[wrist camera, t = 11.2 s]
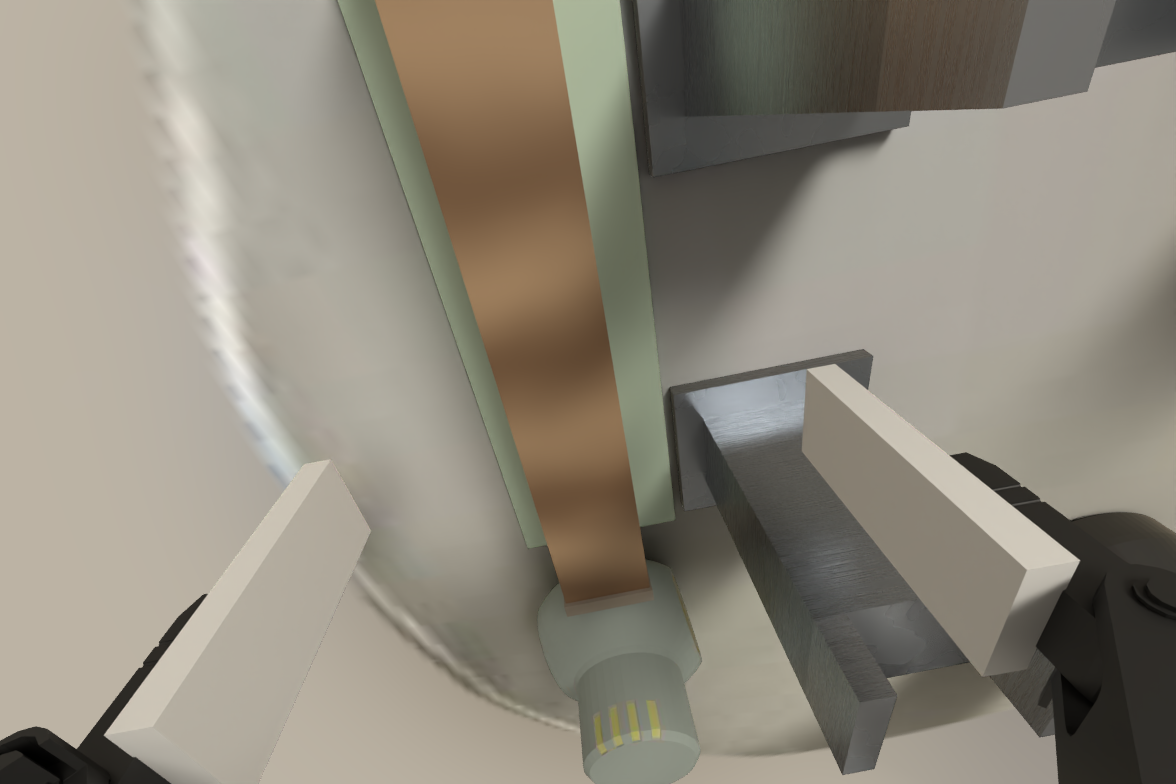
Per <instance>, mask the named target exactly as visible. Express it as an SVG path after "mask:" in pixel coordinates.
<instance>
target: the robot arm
mask: <svg viewBox="0 0 1176 784" xmlns="http://www.w3.org/2000/svg"><path fill="white" fill-rule="evenodd" d="M802 452H803V453H804V455H805V456H806V457H807V458H808V460H809V461H810V462H811V463H812V465H813V466H814V467H815V468H816V470H817V471H818V472H819V473H820V475H821V476H822V477H823V478H824V480H825V481H826V482H827V483H828V485H829V486H830V487H831V488H832V490H833V491H834V492H835V493H836V495H837V496H838V497H839V498H840V500H841V501H842V502H843V503H844V505H845V506H846V507H847V508H848V510H849V511H850V512H851V513H852V515H853V516H854V517H855V518H856V520H857V521H858V522H859V523H860V525H861V526H862V527H863V528H864V530H865V531H866V532H867V533H868V535H869V536H870V537H871V538H872V540H873V541H874V542H875V543H876V545H877V546H878V547H879V548H880V550H881V551H882V552H883V553H884V555H885V556H886V557H887V558H888V560H889V561H890V562H891V563H892V565H893V566H894V567H895V568H896V570H897V571H898V572H899V573H900V575H901V576H902V577H903V578H904V580H905V581H906V582H907V583H908V585H909V586H910V587H911V588H912V590H913V591H914V592H915V593H916V595H917V596H918V597H919V599H920V600H921V601H922V602H923V604H924V605H925V606H926V607H927V609H928V610H929V611H930V612H931V614H932V615H933V616H934V617H935V619H936V620H937V621H938V622H939V624H940V625H941V626H942V627H943V629H944V630H945V631H946V632H947V634H948V635H949V636H950V637H951V639H952V640H953V641H954V642H955V644H956V645H957V646H958V647H959V649H960V650H961V651H962V652H963V654H964V655H965V656H966V657H967V659H968V660H969V661H970V662H971V664H972V665H973V666H974V667H975V669H976V670H977V671H978V672H979V674H980V675H981V676H982V677H986V676H992V675H997V674H1003V673H1009V672H1015V671H1020V670H1026V669H1027V667H1028V665H1029V663H1030V661H1031V659H1032V657H1033V655H1034V653H1035V651H1036V649H1037V648H1038V650H1039V651H1040V652H1041V653H1042V654H1043V655H1044V656H1045V657H1046V658H1047V659H1048V660H1049V661H1050V662H1051V663H1052V664H1053V665H1054V666H1055V668H1054V670H1053V672H1052V674H1051V676H1050V678H1049V679H1048V681H1047V683H1046V685H1045V687H1044V689H1043V690H1042V692H1041V694H1040V698H1039V701H1038V705H1039V706H1041V707H1043V708H1047V707H1048V705H1049V703H1050V701H1051V700H1053V714H1054V727H1055V739H1056V754H1057V766H1058V779H1059V780H1058V781H1059V784H1176V533H1175V532H1173V531H1172V530H1170V529H1168V528H1167V527H1165V526H1164V525H1162V524H1161V523H1159V522H1158V521H1156V520H1155V519H1153V518H1151V517H1148V516H1146V515H1142V514H1137V513H1108V514H1101V515H1095V516H1090V517H1086V518H1082V519H1079V520H1075V521H1072V522H1071V521H1070V520H1069V519H1067V518H1066V517H1065V516H1063V515H1062V514H1061V513H1059V512H1058V511H1057V510H1055V509H1054V508H1053V507H1051V506H1050V505H1048V504H1047V503H1046V502H1041V501H1040V498H1039V497H1038V496H1036V495H1035V494H1034V493H1032V492H1031V491H1030V490H1028V489H1027V488H1026V487H1021V486H1020V483H1019V482H1017V481H1016V480H1015V479H1013V478H1012V477H1011V476H1009V475H1008V474H1007V473H1005V472H1004V471H1003V470H1001V469H1000V468H999V467H997V466H996V465H993V464H991V463H989V462H987V461H984V460H982V459H980V458H978V457H975V456H973V455H971V454H968V453H961V454H955V455H950V456H949V455H948V454H947V453H946V452H944V451H943V450H942V449H941V448H939V447H938V446H937V445H936V444H934V443H933V442H932V441H931V440H929V439H928V438H927V437H926V436H924V435H923V434H922V433H921V432H919V431H918V430H917V429H916V428H914V427H913V426H912V425H911V424H909V423H908V422H907V421H906V420H904V419H903V418H902V417H901V416H899V415H898V414H897V413H896V412H894V411H893V410H892V409H891V408H889V407H888V406H887V405H886V404H884V403H883V402H882V401H881V400H879V399H878V398H877V397H876V396H874V395H873V394H872V393H871V392H869V391H868V390H867V389H866V388H864V387H863V386H862V385H861V384H860V383H858V382H857V381H856V380H855V379H853V378H852V377H851V376H850V375H848V374H847V373H846V372H845V371H843V370H842V369H841V368H840V367H838V366H837V365H836V364H832V365H826V366H821V367H816V368H810V369H807V372H806V389H805V405H804V421H803V438H802ZM370 532H371V530H370V528H369V526H368V524H367V523H366V521H365V519H364V517H363V515H362V514H361V512H360V510H359V508H358V506H357V505H356V503H355V501H354V499H353V497H352V496H351V494H350V492H349V490H348V488H347V487H346V485H345V483H344V481H343V479H342V478H341V476H340V474H339V472H338V470H337V469H336V467H335V465H334V463H333V461H332V460H331V459H329V460H324V461H318V462H313V463H308V464H304V465H303V466H302V468H301V469H300V470H299V472H298V473H297V474H296V476H295V477H294V478H293V480H292V481H291V483H290V484H289V485H288V487H287V488H286V489H285V491H284V492H283V493H282V495H281V496H280V497H279V499H278V500H277V502H276V503H275V504H274V506H273V507H272V508H271V510H270V511H269V512H268V514H267V515H266V516H265V518H264V519H263V520H262V522H261V523H260V524H259V526H258V527H257V529H256V530H255V531H254V533H253V534H252V535H251V537H250V538H249V539H248V541H247V542H246V544H245V545H244V546H243V548H242V549H241V550H240V552H239V553H238V554H237V556H236V557H235V558H234V560H233V561H232V562H231V564H230V565H229V567H228V568H227V569H226V571H225V572H224V573H223V575H222V576H221V577H220V579H219V580H218V581H217V583H216V584H215V585H214V587H213V588H212V589H211V591H210V592H209V594H204V595H202V596H201V597H200V598H199V599H198V600H196V602H194V603H193V604H192V605H191V606H190V607H189V608H188V609H187V610H185V611H184V612H183V613H182V614H181V615H180V616H179V617H178V618H177V619H176V620H175V622H174V623H173V624H172V626H171V627H170V628H169V629H168V631H167V632H166V633H165V635H164V636H163V637H162V639H161V640H160V641H159V646H158V647H155V648H154V649H153V650H152V652H151V653H150V654H149V656H148V657H147V658H146V660H145V661H144V662H143V664H144V665H143V667H142V668H139V669H138V670H137V671H136V673H135V674H134V675H133V676H132V678H131V679H130V680H129V682H128V683H127V684H126V686H125V687H124V688H123V690H122V691H121V692H120V693H119V695H118V696H117V698H116V699H115V700H114V701H113V703H112V704H111V705H110V707H109V708H108V709H107V710H106V712H105V713H104V714H103V716H102V717H101V718H100V720H99V721H98V722H97V724H96V725H95V726H94V727H93V729H92V730H91V732H90V733H89V734H88V735H87V737H86V738H85V739H84V741H83V742H82V743H81V744H80V746H79V747H78V748H77V749H75V748H74V747H72V746H71V745H69V744H68V743H67V742H65V741H64V740H62V739H61V738H59V737H58V736H56V735H55V734H53V733H52V732H51V731H49V730H48V729H45V728H41V727H32V728H28V729H25V730H21V731H18V732H16V733H14V734H12V735H10V736H8V737H6V738H5V739H3V740H1V741H0V784H259V781H260V779H261V777H262V775H263V772H264V770H265V768H266V766H267V763H268V761H269V759H270V756H271V755H272V752H273V750H274V748H275V746H276V743H277V741H278V739H279V737H280V734H281V732H282V730H283V728H284V725H285V723H286V721H287V719H288V716H289V714H290V712H291V710H292V707H293V705H294V703H295V701H296V698H297V696H298V694H299V692H300V689H301V687H302V685H303V683H304V680H305V678H306V676H307V674H308V671H309V669H310V667H311V665H312V662H313V660H314V658H315V656H316V653H317V651H318V649H319V647H320V645H321V642H322V640H323V638H324V635H325V633H326V631H327V629H328V627H329V624H330V622H331V620H332V618H333V615H334V613H335V611H336V609H337V606H338V604H339V602H340V600H341V597H342V595H343V593H344V591H345V588H346V586H347V584H348V582H349V580H350V577H351V575H352V573H353V571H354V568H355V566H356V564H357V562H358V559H359V557H360V555H361V553H362V550H363V548H364V546H365V544H366V541H367V539H368V537H369V535H370Z"/></svg>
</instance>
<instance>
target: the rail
mask: <svg viewBox="0 0 1176 784" xmlns="http://www.w3.org/2000/svg"><path fill="white" fill-rule="evenodd" d="M375 3H376V6H377V9H378V12H379V15H380V18H381V22H382V25H383V28H384V31H385V34H386V37H387V40H388V44H389V47H390V50H391V53H392V56H393V59H394V63H395V66H396V69H397V72H398V75H399V78H400V81H401V85H402V88H403V91H404V94H405V97H406V100H407V104H408V107H409V110H410V113H411V116H412V119H413V122H414V126H415V129H416V132H417V135H418V138H419V141H420V145H421V148H422V151H423V154H424V157H425V160H426V164H427V167H428V170H429V173H430V176H431V179H432V182H433V186H434V189H435V192H436V195H437V198H438V201H439V205H440V208H441V211H442V214H443V217H444V220H445V223H446V227H447V230H448V233H449V236H450V239H451V242H452V246H453V249H454V252H455V255H456V258H457V261H458V265H459V268H460V271H461V274H462V277H463V280H464V283H465V287H466V290H467V293H468V296H469V299H470V302H471V306H472V309H473V312H474V315H475V318H476V321H477V324H478V328H479V331H480V334H481V337H482V340H483V343H484V347H485V350H486V353H487V356H488V359H489V362H490V365H491V369H492V372H493V375H494V378H495V381H496V384H497V388H498V391H499V394H500V397H501V400H502V403H503V407H504V410H505V413H506V416H507V419H508V422H509V425H510V429H511V432H512V435H513V438H514V441H515V444H516V448H517V451H518V454H519V457H520V460H521V463H522V466H523V470H524V473H525V476H526V479H527V482H528V485H529V489H530V492H531V495H532V498H533V501H534V504H535V508H536V511H537V514H538V517H539V520H540V523H541V526H542V530H543V533H544V536H545V539H546V542H547V545H548V549H549V552H550V555H551V558H552V561H553V564H554V567H555V571H556V574H557V577H558V580H559V583H560V586H561V590H562V593H563V596H564V608H565V611H566V614H567V617H570V616H575V615H580V614H585V613H590V612H595V611H601V610H606V609H611V608H616V607H621V606H626V605H631V604H637V603H642V602H647V601H652V600H654V596H653V590H652V586H651V582H650V578H649V573H648V569H647V565H646V561H645V555H644V549H643V543H642V537H641V531H640V525H639V519H638V513H637V506H636V500H635V494H634V488H633V482H632V476H631V470H630V464H629V458H628V452H627V446H626V440H625V434H624V428H623V422H622V416H621V410H620V404H619V398H618V392H617V386H616V380H615V374H614V368H613V362H612V356H611V350H610V343H609V337H608V331H607V325H606V319H605V313H604V307H603V301H602V295H601V289H600V283H599V277H598V271H597V265H596V259H595V253H594V247H593V241H592V235H591V229H590V223H589V217H588V211H587V205H586V199H585V193H584V187H583V180H582V174H581V168H580V162H579V156H578V150H577V144H576V138H575V132H574V126H573V120H572V114H571V108H570V102H569V96H568V90H567V84H566V78H565V72H564V66H563V60H562V54H561V48H560V42H559V36H558V30H557V24H556V17H555V11H554V5H553V0H375Z"/></svg>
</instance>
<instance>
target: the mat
mask: <svg viewBox="0 0 1176 784" xmlns="http://www.w3.org/2000/svg"><path fill="white" fill-rule="evenodd" d="M338 3H339V6H340V9H341V12H342V14H343V17H344V20H345V23H346V26H347V29H348V32H349V35H350V37H351V40H352V43H353V46H354V49H355V52H356V55H357V58H358V61H359V63H360V66H361V69H362V72H363V75H364V78H365V81H366V84H367V86H368V89H369V92H370V95H371V98H372V101H373V104H374V107H375V109H376V112H377V115H378V118H379V121H380V124H381V127H382V130H383V133H384V135H385V138H386V141H387V144H388V147H389V150H390V153H391V156H392V158H393V161H394V164H395V167H396V170H397V173H398V176H399V179H400V182H401V184H402V187H403V190H404V193H405V196H406V199H407V202H408V205H409V207H410V210H411V213H412V216H413V219H414V222H415V225H416V228H417V230H418V233H419V236H420V239H421V242H422V245H423V248H424V251H425V254H426V256H427V259H428V262H429V265H430V268H431V271H432V274H433V277H434V279H435V282H436V285H437V288H438V291H439V294H440V297H441V300H442V302H443V305H444V308H445V311H446V314H447V317H448V320H449V323H450V326H451V328H452V331H453V334H454V337H455V340H456V343H457V346H458V349H459V351H460V354H461V357H462V360H463V363H464V366H465V369H466V372H467V375H468V377H469V380H470V383H471V386H472V389H473V392H474V395H475V398H476V400H477V403H478V406H479V409H480V412H481V415H482V418H483V421H484V423H485V426H486V429H487V432H488V435H489V438H490V441H491V444H492V447H493V449H494V452H495V455H496V458H497V461H498V464H499V467H500V470H501V472H502V475H503V478H504V481H505V484H506V487H507V490H508V493H509V495H510V498H511V501H512V504H513V507H514V510H515V513H516V516H517V519H518V521H519V524H520V527H521V530H522V533H523V536H524V539H525V542H526V544H527V547H528V549H530V548H535V547H541V546H546V545H547V542H546V539H545V536H544V533H543V530H542V526H541V523H540V520H539V517H538V514H537V511H536V508H535V504H534V501H533V498H532V495H531V492H530V489H529V485H528V482H527V479H526V476H525V473H524V470H523V466H522V463H521V460H520V457H519V454H518V451H517V448H516V444H515V441H514V438H513V435H512V432H511V429H510V425H509V422H508V419H507V416H506V413H505V410H504V407H503V403H502V400H501V397H500V394H499V391H498V388H497V384H496V381H495V378H494V375H493V372H492V369H491V365H490V362H489V359H488V356H487V353H486V350H485V347H484V343H483V340H482V337H481V334H480V331H479V328H478V324H477V321H476V318H475V315H474V312H473V309H472V306H471V302H470V299H469V296H468V293H467V290H466V287H465V283H464V280H463V277H462V274H461V271H460V268H459V265H458V261H457V258H456V255H455V252H454V249H453V246H452V242H451V239H450V236H449V233H448V230H447V227H446V223H445V220H444V217H443V214H442V211H441V208H440V205H439V201H438V198H437V195H436V192H435V189H434V186H433V182H432V179H431V176H430V173H429V170H428V167H427V164H426V160H425V157H424V154H423V151H422V148H421V145H420V141H419V138H418V135H417V132H416V129H415V126H414V122H413V119H412V116H411V113H410V110H409V107H408V104H407V100H406V97H405V94H404V91H403V88H402V85H401V81H400V78H399V75H398V72H397V69H396V66H395V63H394V59H393V56H392V53H391V50H390V47H389V44H388V40H387V37H386V34H385V31H384V28H383V25H382V22H381V18H380V15H379V12H378V9H377V6H376V3H375V0H338ZM553 5H554V11H555V17H556V24H557V30H558V36H559V42H560V48H561V54H562V60H563V66H564V72H565V78H566V84H567V90H568V96H569V102H570V108H571V114H572V120H573V126H574V132H575V138H576V144H577V150H578V156H579V162H580V168H581V174H582V180H583V187H584V193H585V199H586V205H587V211H588V217H589V223H590V229H591V235H592V241H593V247H594V253H595V259H596V265H597V271H598V277H599V283H600V289H601V295H602V301H603V307H604V313H605V319H606V325H607V331H608V337H609V343H610V350H611V356H612V362H613V368H614V374H615V380H616V386H617V392H618V398H619V404H620V410H621V416H622V422H623V428H624V434H625V440H626V446H627V452H628V458H629V464H630V470H631V476H632V482H633V488H634V494H635V500H636V506H637V513H638V519H639V525H640V527H643V526H648V525H653V524H659V523H664V522H669V521H674V520H675V511H674V501H673V492H672V483H671V473H670V464H669V455H668V445H667V436H666V427H665V418H664V408H663V399H662V390H661V380H660V371H659V362H658V352H657V343H656V334H655V324H654V315H653V306H652V296H651V287H650V278H649V268H648V259H647V250H646V241H645V231H644V222H643V213H642V203H641V194H640V185H639V175H638V166H637V157H636V147H635V138H634V129H633V119H632V110H631V101H630V91H629V82H628V73H627V63H626V54H625V45H624V36H623V26H622V17H621V8H620V0H553Z"/></svg>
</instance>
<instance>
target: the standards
mask: <svg viewBox="0 0 1176 784" xmlns="http://www.w3.org/2000/svg"><path fill="white" fill-rule="evenodd" d="M632 2H633V12H634V22H635V33H636V43H637V53H638V64H639V74H640V84H641V95H642V105H643V116H644V126H645V136H646V147H647V157H648V167H649V175H650V176H652V177H657V176H662V175H667V174H672V173H677V172H682V171H687V170H692V169H697V168H702V167H707V166H712V165H717V164H722V163H727V162H732V161H737V160H742V159H747V158H752V157H757V156H762V155H767V154H772V153H777V152H782V151H787V150H792V149H797V148H802V147H807V146H812V145H817V144H822V143H827V142H832V141H837V140H842V139H847V138H852V137H857V136H862V135H867V134H872V133H877V132H882V131H887V130H892V129H897V128H902V127H907V126H909V122H910V115H911V111H923V110H960V109H997V108H1007V107H1012V106H1017V105H1022V104H1027V103H1032V102H1037V101H1042V100H1047V99H1052V98H1057V97H1062V96H1067V95H1072V94H1077V93H1082V92H1087V91H1088V88H1089V85H1090V81H1091V78H1092V75H1093V72H1094V69H1095V68H1096V67H1101V66H1106V65H1111V64H1116V63H1121V62H1126V61H1131V60H1136V59H1141V58H1146V57H1151V56H1156V55H1161V54H1166V53H1171V52H1176V0H632ZM872 361H873V356H872V355H871V354H870V353H868V352H867V351H865V350H864V349H862V350H857V351H852V352H847V353H842V354H837V355H832V356H826V357H821V358H816V359H811V360H806V361H801V362H796V363H791V364H786V365H781V366H776V367H771V368H766V369H760V370H755V371H750V372H745V373H740V374H735V375H730V376H725V377H720V378H715V379H710V380H705V381H700V382H694V383H689V384H684V385H679V386H674V387H670V395H671V405H672V416H673V426H674V436H675V447H676V457H677V468H678V478H679V488H680V499H681V504H682V506H683V509H684V511H689V510H694V509H699V508H704V507H710V506H715V505H717V506H718V509H719V511H720V513H721V515H722V517H723V519H724V522H725V524H726V526H727V528H728V530H729V532H730V534H731V537H732V539H733V541H734V543H735V545H736V547H737V549H738V552H739V554H740V556H741V558H742V560H743V562H744V564H745V567H746V569H747V571H748V573H749V575H750V577H751V580H752V582H753V584H754V586H755V588H756V590H757V592H758V595H759V597H760V599H761V601H762V603H763V605H764V607H765V610H766V612H767V614H768V616H769V618H770V620H771V622H772V625H773V627H774V629H775V631H776V633H777V635H778V637H779V640H780V642H781V644H782V646H783V648H784V650H785V653H786V655H787V657H788V659H789V661H790V663H791V665H792V668H793V670H794V672H795V674H796V676H797V678H798V680H799V683H800V685H801V687H802V689H803V691H804V693H805V695H806V698H807V700H808V702H809V704H810V706H811V708H812V710H813V713H814V715H815V717H816V719H817V721H818V723H819V726H820V728H821V730H822V732H823V734H824V736H825V738H826V741H827V743H828V745H829V747H830V749H831V751H832V753H833V756H834V758H835V760H836V761H837V764H838V766H839V768H840V771H841V773H842V775H845V774H850V773H855V772H860V771H866V770H871V769H874V768H875V765H876V762H877V759H878V755H879V752H880V749H881V746H882V743H883V740H884V736H885V733H886V730H887V727H888V724H889V720H890V717H891V714H892V711H893V708H894V705H895V701H896V698H897V694H896V693H895V691H894V689H893V688H892V686H891V685H890V683H889V681H888V680H887V678H890V677H895V676H900V675H905V674H910V673H916V672H921V671H926V670H931V669H936V668H942V667H947V666H952V665H957V664H963V663H968V662H970V661H969V660H968V659H967V657H966V656H965V655H964V654H963V652H962V651H961V650H960V649H959V647H958V646H957V645H956V644H955V642H954V641H953V640H952V639H951V637H950V636H949V635H948V634H947V632H946V631H945V630H944V629H943V627H942V626H941V625H940V624H939V622H938V621H937V620H936V619H935V617H934V616H933V615H932V614H931V612H930V611H929V610H928V609H927V607H926V606H925V605H924V604H923V602H922V601H921V600H920V599H919V597H918V596H917V595H916V593H915V592H914V591H913V590H912V588H911V587H910V586H909V585H908V583H907V582H906V581H905V580H904V578H903V577H902V576H901V575H900V573H899V572H898V571H897V570H896V568H895V567H894V566H893V565H892V563H891V562H890V561H889V560H888V558H887V557H886V556H885V555H884V553H883V552H882V551H881V550H880V548H879V547H878V546H877V545H876V543H875V542H874V541H873V540H872V538H871V537H870V536H869V535H868V533H867V532H866V531H865V530H864V528H863V527H862V526H861V525H860V523H859V522H858V521H857V520H856V518H855V517H854V516H853V515H852V513H851V512H850V511H849V510H848V508H847V507H846V506H845V505H844V503H843V502H842V501H841V500H840V498H839V497H838V496H837V495H836V493H835V492H834V491H833V490H832V488H831V487H830V486H829V485H828V483H827V482H826V481H825V480H824V478H823V477H822V476H821V475H820V473H819V472H818V471H817V470H816V468H815V467H814V466H813V465H812V463H811V462H810V461H809V460H808V458H807V457H806V456H805V455H804V453H803V452H802V438H803V421H804V405H805V389H806V372H807V369H810V368H816V367H821V366H826V365H832V364H836V365H837V366H838V367H840V368H841V369H842V370H843V371H845V372H846V373H847V374H848V375H850V376H851V377H852V378H853V379H855V380H856V381H857V382H858V383H860V384H861V385H862V386H863V387H864V388H866V389H867V390H868V386H869V380H870V373H871V367H872ZM1054 668H1055V666H1054V665H1053V664H1052V663H1051V662H1050V661H1049V660H1048V659H1047V658H1046V657H1045V656H1044V655H1043V654H1042V653H1041V652H1040V651H1039V650H1038V648H1037V649H1036V651H1035V653H1034V655H1033V657H1032V659H1031V661H1030V663H1029V665H1028V667H1027V669H1026V670H1020V671H1015V672H1009V673H1003V674H997V675H992V676H990V677H991V678H992V680H993V681H994V682H995V683H996V684H997V686H998V687H999V688H1000V689H1001V691H1002V692H1003V693H1004V694H1005V696H1006V697H1007V698H1008V699H1009V700H1010V702H1011V703H1012V704H1013V705H1014V707H1015V708H1016V709H1017V710H1018V711H1019V713H1020V714H1021V715H1022V716H1023V718H1024V719H1025V720H1026V721H1027V722H1028V724H1029V725H1030V726H1031V727H1032V729H1033V730H1034V731H1035V732H1036V733H1037V735H1038V736H1039V737H1045V736H1050V735H1055V727H1054V714H1053V700H1051V701H1050V703H1049V705H1048V707H1047V708H1043V707H1041V706H1039V705H1038V701H1039V698H1040V694H1041V692H1042V690H1043V689H1044V687H1045V685H1046V683H1047V681H1048V679H1049V678H1050V676H1051V674H1052V672H1053V670H1054Z"/></svg>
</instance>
